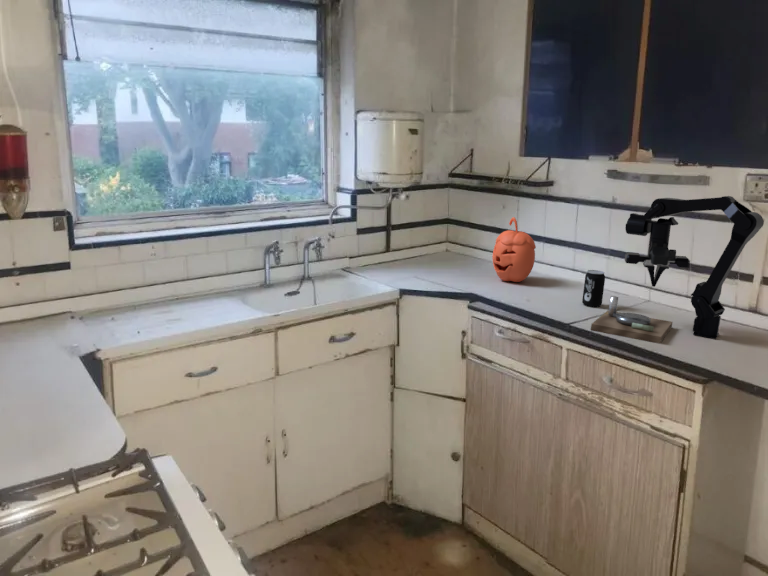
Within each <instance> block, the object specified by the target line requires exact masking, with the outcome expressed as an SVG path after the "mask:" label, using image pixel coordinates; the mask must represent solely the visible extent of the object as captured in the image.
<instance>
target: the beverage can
mask: <svg viewBox="0 0 768 576" xmlns="http://www.w3.org/2000/svg"><path fill="white" fill-rule="evenodd" d="M605 282H606V276H605V272H604V271H602V270H596V269H590V270H589V269H588V270H587V271H586V273H585V276H584V285H583V291H582V292H583V293H582V305H583V306H585V307H588V308H600V307H601V306H602V305H603V299H604V298H603V297H604V291H605V284H606V283H605Z"/></svg>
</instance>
